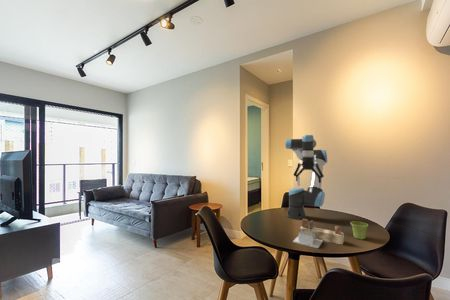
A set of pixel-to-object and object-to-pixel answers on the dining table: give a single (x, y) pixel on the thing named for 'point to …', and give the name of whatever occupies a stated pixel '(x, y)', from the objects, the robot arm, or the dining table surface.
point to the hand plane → (325, 233)
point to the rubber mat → (315, 245)
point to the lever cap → (307, 236)
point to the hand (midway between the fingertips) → (308, 186)
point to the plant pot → (359, 229)
